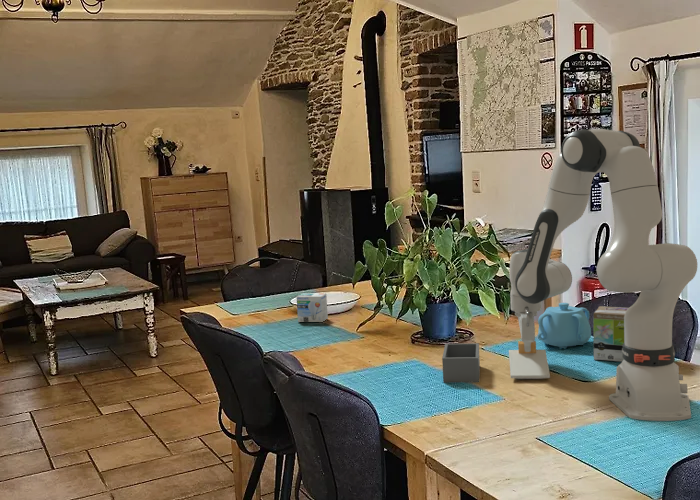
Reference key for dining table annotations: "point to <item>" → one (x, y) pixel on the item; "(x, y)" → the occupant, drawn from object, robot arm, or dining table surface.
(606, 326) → the tea box
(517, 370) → the lid
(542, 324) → the decorative pot
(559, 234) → the robot arm
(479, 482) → the dining table surface
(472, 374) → the tub
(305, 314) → the light bulb box
